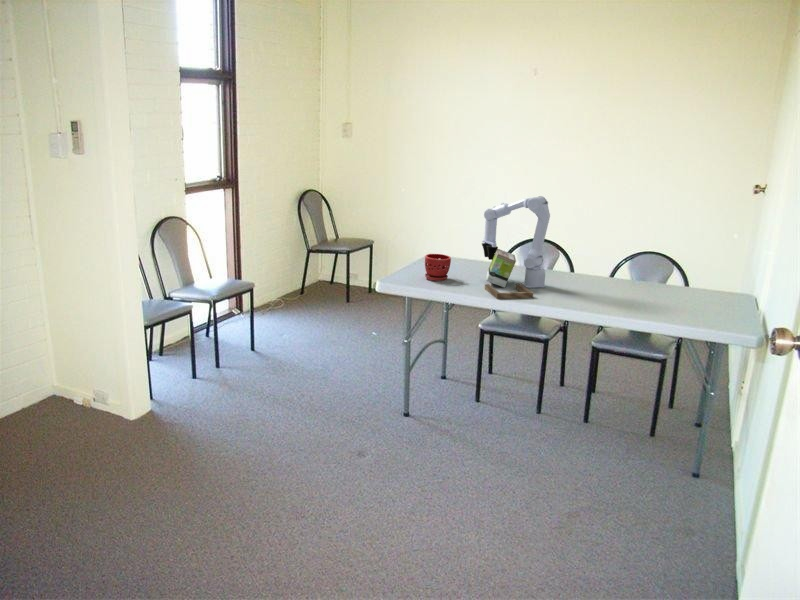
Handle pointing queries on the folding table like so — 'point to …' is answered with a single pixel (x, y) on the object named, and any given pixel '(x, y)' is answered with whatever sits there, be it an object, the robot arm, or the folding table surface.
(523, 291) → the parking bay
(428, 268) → the plant pot
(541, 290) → the folding table surface
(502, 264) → the tea box
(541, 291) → the folding table surface
